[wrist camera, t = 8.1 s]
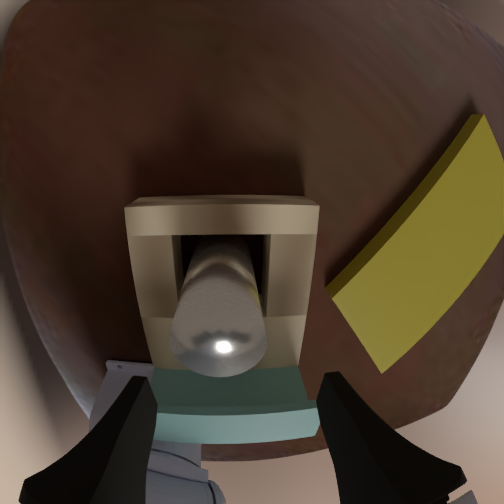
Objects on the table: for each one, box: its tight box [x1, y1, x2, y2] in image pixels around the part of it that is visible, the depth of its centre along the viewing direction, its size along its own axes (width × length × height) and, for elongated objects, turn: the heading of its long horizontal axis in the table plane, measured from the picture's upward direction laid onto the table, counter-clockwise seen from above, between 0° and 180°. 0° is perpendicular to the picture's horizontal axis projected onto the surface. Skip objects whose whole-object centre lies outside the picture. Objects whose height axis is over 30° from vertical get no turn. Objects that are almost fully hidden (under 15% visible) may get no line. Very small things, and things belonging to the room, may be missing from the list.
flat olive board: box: [325, 114, 504, 374], centre depth 20 cm, size 12×2×24 cm
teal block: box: [150, 366, 320, 444], centre depth 16 cm, size 11×4×6 cm, turn 88°
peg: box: [169, 234, 267, 377], centre depth 15 cm, size 4×4×9 cm
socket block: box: [124, 195, 319, 370], centre depth 18 cm, size 11×13×3 cm
